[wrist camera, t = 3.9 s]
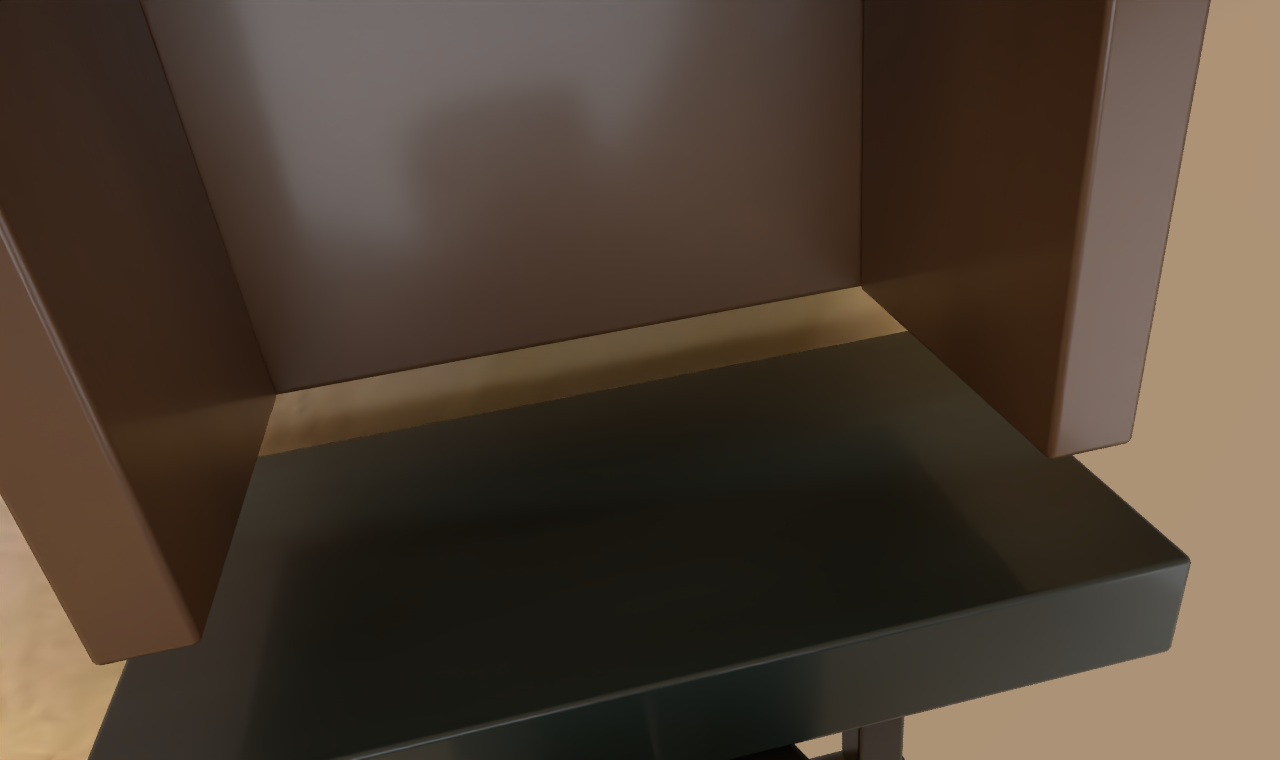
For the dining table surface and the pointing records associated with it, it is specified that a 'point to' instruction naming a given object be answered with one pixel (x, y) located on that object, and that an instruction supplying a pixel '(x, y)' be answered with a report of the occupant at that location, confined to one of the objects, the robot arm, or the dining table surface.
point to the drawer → (570, 309)
